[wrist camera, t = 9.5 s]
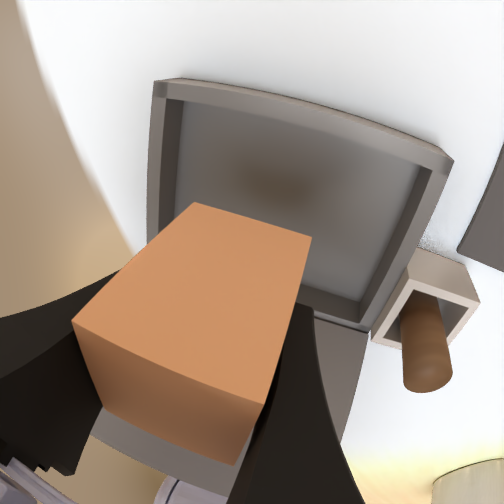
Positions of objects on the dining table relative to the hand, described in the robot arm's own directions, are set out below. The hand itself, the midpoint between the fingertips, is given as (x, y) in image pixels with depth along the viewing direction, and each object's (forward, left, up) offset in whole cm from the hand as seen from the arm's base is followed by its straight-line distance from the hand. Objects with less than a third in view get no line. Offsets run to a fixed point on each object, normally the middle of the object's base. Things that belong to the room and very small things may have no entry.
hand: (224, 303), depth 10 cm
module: (0, 0, -2) cm, 2 cm away
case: (-3, -2, -9) cm, 10 cm away
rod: (-3, -9, -9) cm, 13 cm away
